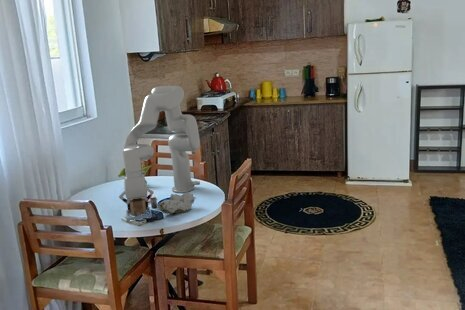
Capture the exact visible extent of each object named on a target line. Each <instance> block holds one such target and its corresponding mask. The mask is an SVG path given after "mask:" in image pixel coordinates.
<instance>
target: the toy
mask: <svg viewBox="0 0 465 310" xmlns="http://www.w3.org/2000/svg"><path fill="white" fill-rule="evenodd" d="M151 167H153V165H151V164H150V165H148V166H145V167H141V168H142V170H145V173H143V174H142V175H144V177H145V176H146V174H147V172H148V171H149V169H150V168H151ZM117 177H118V178H121V177H124V178H125V177H126V173H125V167H124V168H122V169H121V170H120V172H119V174H118V175H117ZM145 178H146V177H145ZM145 181H146V185H147V184H148V181H147V180H146V179H145Z"/></svg>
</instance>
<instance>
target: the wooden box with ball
mask: <svg viewBox="0 0 465 310" xmlns="http://www.w3.org/2000/svg"><path fill="white" fill-rule="evenodd" d="M130 208H131V215H141V214H144V213H146V205H145V199H144V198H143V197H139V198H132V199H130Z"/></svg>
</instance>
